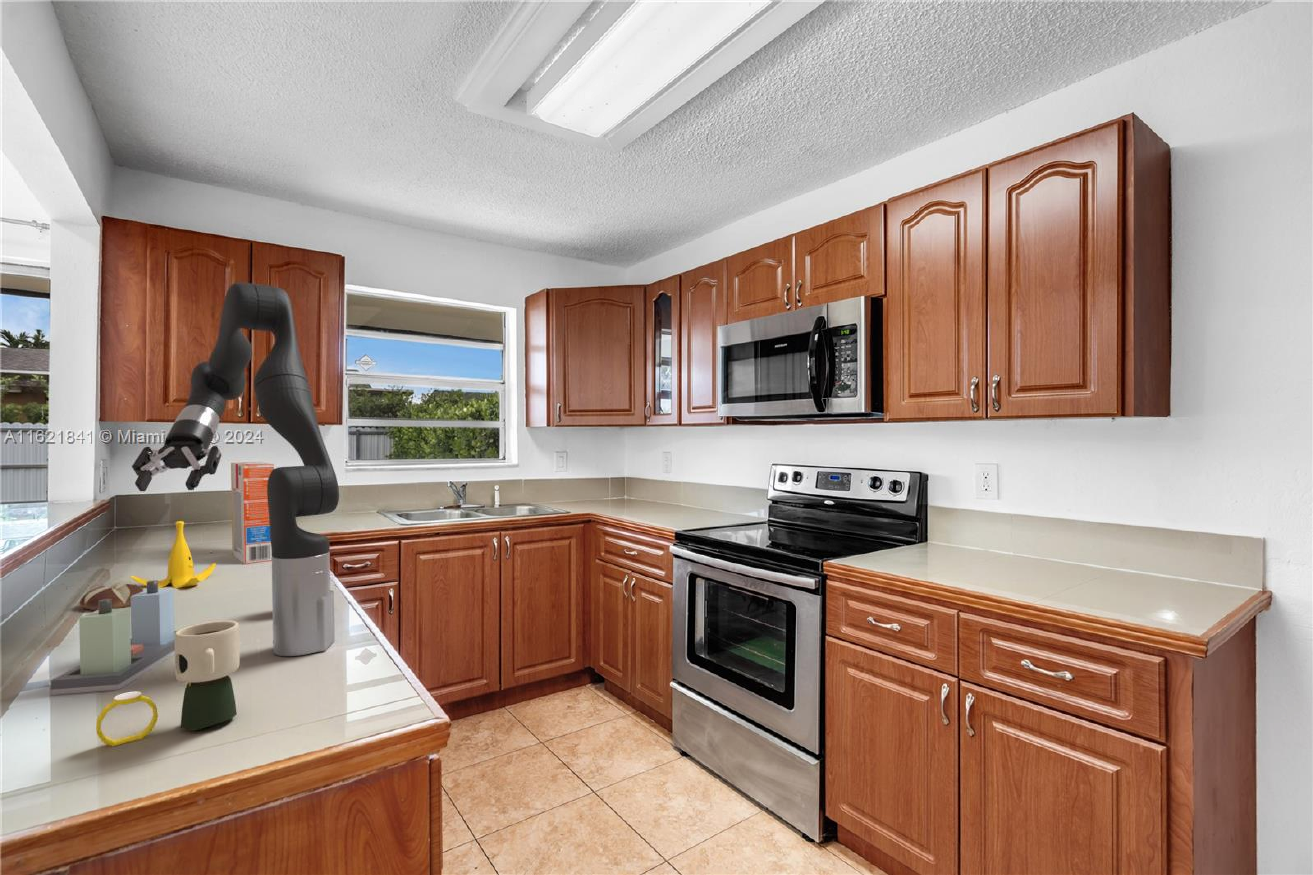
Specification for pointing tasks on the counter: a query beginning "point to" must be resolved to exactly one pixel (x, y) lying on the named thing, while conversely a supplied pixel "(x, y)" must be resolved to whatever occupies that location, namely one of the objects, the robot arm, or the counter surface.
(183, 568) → the banana peel
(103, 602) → the green knobbed block
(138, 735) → the watch
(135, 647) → the grey rimmed tray
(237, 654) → the character mug
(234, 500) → the pasta box
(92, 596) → the bread
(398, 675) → the counter surface
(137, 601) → the plug
